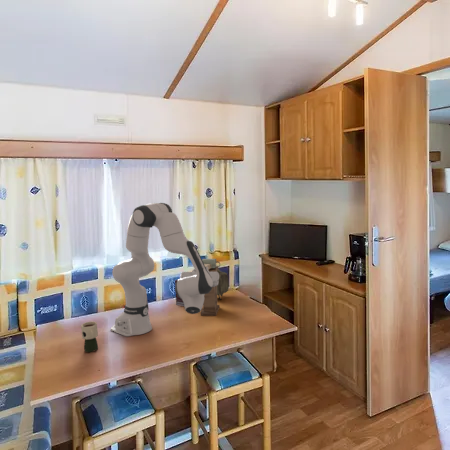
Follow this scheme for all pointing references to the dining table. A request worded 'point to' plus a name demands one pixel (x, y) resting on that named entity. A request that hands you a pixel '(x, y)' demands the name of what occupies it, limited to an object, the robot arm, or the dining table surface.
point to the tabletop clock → (222, 283)
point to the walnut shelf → (211, 300)
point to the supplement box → (178, 300)
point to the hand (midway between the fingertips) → (201, 267)
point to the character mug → (89, 336)
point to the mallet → (209, 263)
